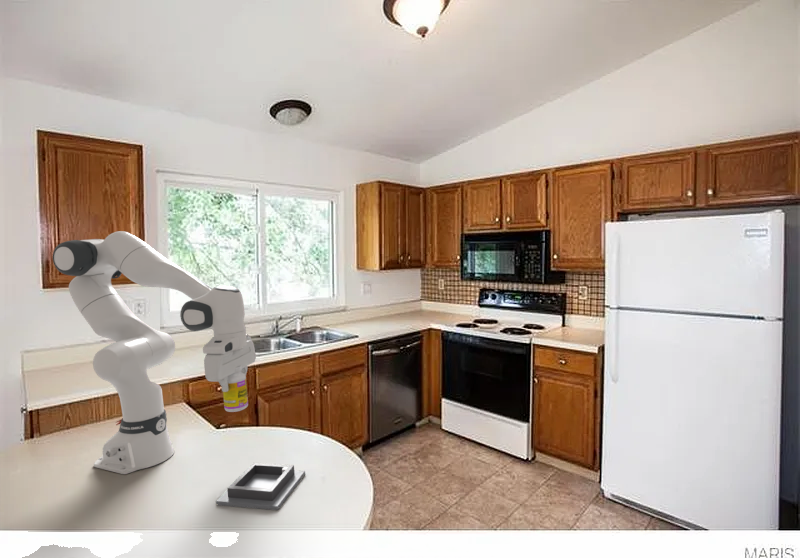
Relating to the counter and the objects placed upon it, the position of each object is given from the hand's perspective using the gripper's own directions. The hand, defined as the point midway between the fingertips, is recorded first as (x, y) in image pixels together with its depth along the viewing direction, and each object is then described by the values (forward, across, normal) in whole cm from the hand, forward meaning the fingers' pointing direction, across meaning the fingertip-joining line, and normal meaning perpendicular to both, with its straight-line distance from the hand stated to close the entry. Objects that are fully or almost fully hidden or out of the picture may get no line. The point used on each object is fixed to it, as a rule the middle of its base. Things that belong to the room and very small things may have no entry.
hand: (234, 386), depth 124 cm
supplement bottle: (+7, 0, 0) cm, 7 cm away
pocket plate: (+24, +12, +14) cm, 30 cm away
